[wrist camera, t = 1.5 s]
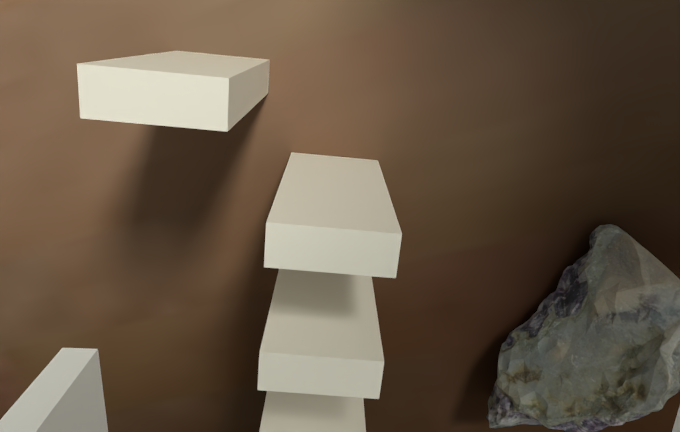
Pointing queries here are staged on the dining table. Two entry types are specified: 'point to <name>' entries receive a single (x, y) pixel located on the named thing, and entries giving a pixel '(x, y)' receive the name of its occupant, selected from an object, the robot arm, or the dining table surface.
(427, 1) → the dining table surface
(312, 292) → the domino
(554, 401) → the mineral rock
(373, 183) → the domino
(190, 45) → the dining table surface
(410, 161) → the dining table surface
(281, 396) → the domino
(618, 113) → the dining table surface
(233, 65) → the domino
